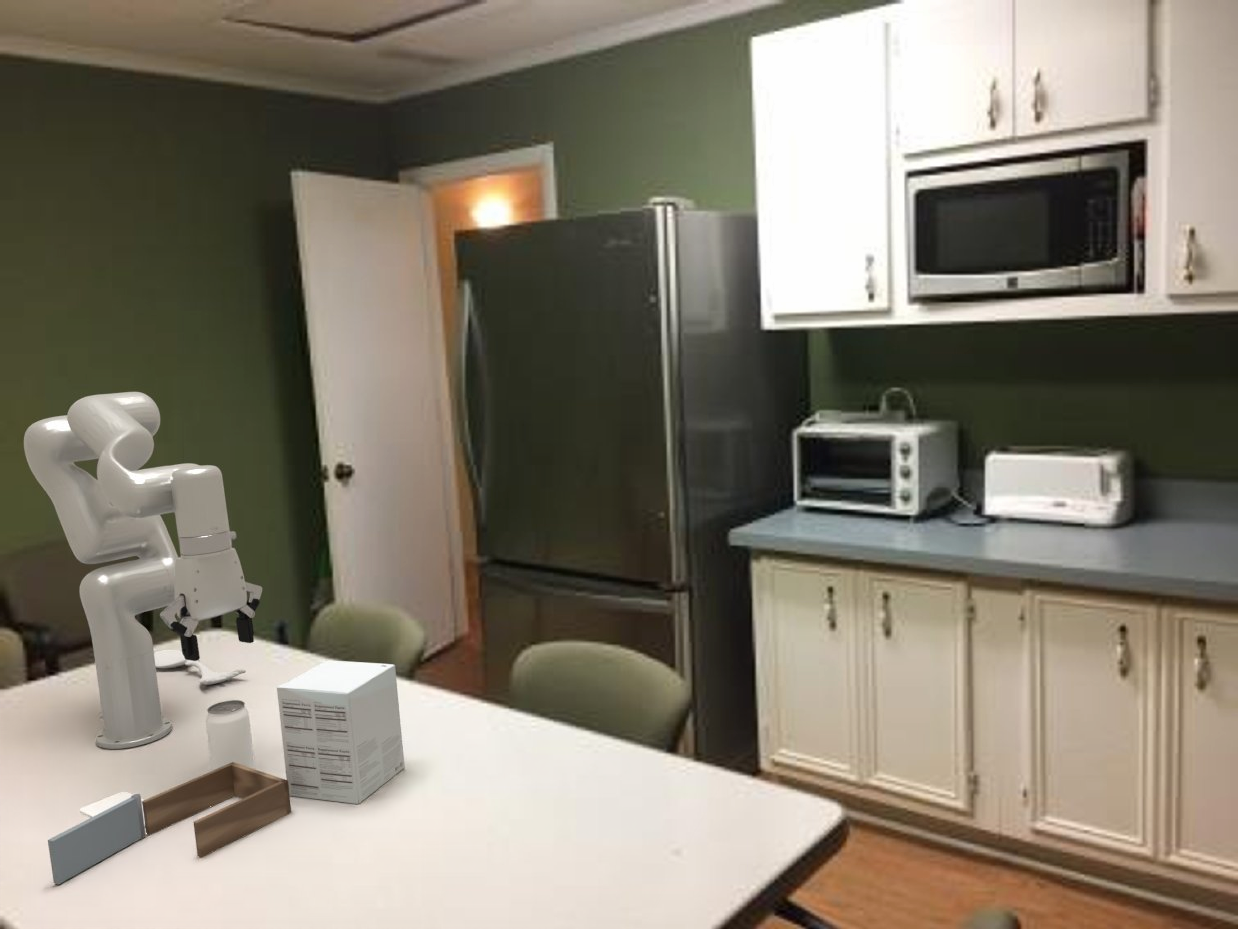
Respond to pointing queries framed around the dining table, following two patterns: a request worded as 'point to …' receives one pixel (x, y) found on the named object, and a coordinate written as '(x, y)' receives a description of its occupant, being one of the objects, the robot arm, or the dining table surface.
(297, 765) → the supplement box
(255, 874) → the dining table surface
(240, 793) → the bin
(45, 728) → the dining table surface
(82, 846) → the bin gate
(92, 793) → the dining table surface
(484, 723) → the dining table surface
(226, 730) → the can
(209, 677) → the spoon
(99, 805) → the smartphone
